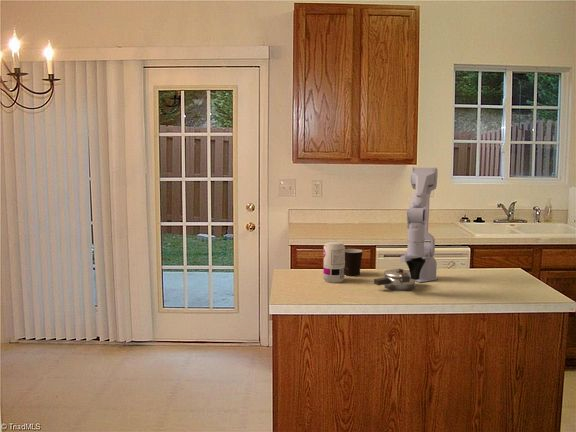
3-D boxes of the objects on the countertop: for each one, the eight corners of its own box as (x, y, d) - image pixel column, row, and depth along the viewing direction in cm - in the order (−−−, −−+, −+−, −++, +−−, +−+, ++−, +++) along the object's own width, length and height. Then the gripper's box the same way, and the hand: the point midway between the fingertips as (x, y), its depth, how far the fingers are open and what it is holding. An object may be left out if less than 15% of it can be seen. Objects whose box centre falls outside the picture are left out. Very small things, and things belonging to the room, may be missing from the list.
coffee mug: (361, 277, 212) (362, 253, 211) (340, 276, 214) (340, 252, 213) (363, 271, 223) (363, 247, 222) (342, 270, 225) (343, 247, 224)
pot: (406, 281, 206) (406, 270, 206) (426, 287, 197) (427, 276, 196) (366, 287, 197) (367, 275, 196) (385, 294, 187) (386, 282, 187)
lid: (381, 271, 203) (381, 266, 202) (412, 271, 203) (412, 266, 202) (389, 282, 186) (389, 276, 186) (422, 282, 186) (422, 276, 186)
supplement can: (320, 282, 205) (320, 243, 203) (327, 277, 212) (327, 240, 211) (340, 284, 202) (341, 245, 200) (346, 279, 209) (347, 241, 208)
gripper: (418, 237, 194) (417, 273, 196) (393, 242, 185) (392, 280, 187) (435, 240, 189) (434, 277, 191) (410, 244, 180) (409, 283, 181)
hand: (414, 279), depth 188 cm, fingers closed
